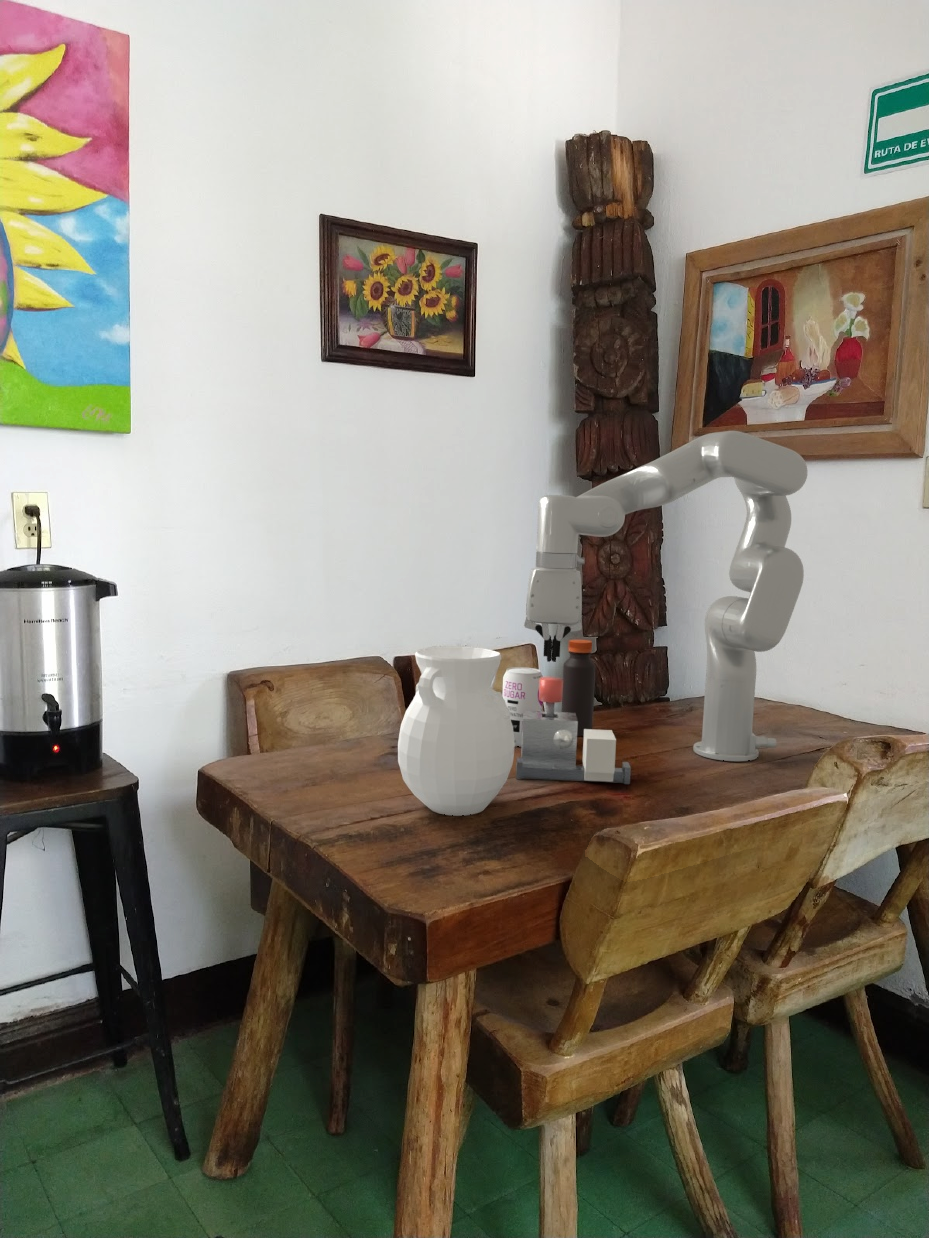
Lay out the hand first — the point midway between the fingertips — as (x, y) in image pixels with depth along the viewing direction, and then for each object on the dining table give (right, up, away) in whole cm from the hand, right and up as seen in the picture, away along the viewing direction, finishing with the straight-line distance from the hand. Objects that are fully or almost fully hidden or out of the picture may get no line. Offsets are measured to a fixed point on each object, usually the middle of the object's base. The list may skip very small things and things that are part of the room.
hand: (551, 660), depth 172 cm
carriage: (+8, -21, -8) cm, 24 cm away
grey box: (0, -19, +2) cm, 20 cm away
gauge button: (0, -11, +1) cm, 11 cm away
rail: (+3, -21, -8) cm, 22 cm away
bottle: (+8, -17, +26) cm, 32 cm away
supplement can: (-5, -18, +17) cm, 25 cm away
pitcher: (-18, -22, -25) cm, 38 cm away
